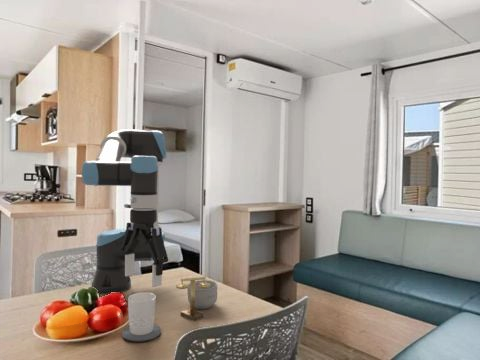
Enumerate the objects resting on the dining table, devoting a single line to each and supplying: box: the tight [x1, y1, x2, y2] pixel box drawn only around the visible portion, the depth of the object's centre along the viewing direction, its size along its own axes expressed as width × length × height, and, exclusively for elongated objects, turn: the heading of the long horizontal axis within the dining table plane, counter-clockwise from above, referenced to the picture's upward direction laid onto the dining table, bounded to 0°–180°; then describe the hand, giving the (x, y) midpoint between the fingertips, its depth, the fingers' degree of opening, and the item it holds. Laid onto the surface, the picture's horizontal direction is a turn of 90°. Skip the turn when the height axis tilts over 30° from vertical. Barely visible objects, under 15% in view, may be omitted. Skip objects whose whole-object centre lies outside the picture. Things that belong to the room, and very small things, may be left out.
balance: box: [175, 275, 210, 322], centre depth 120 cm, size 15×4×14 cm, turn 50°
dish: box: [121, 323, 162, 343], centre depth 107 cm, size 11×11×1 cm
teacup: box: [186, 278, 218, 310], centre depth 131 cm, size 14×11×8 cm
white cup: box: [127, 291, 157, 335], centre depth 107 cm, size 8×8×10 cm
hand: (142, 280), depth 106 cm, fingers open, 13 cm apart
